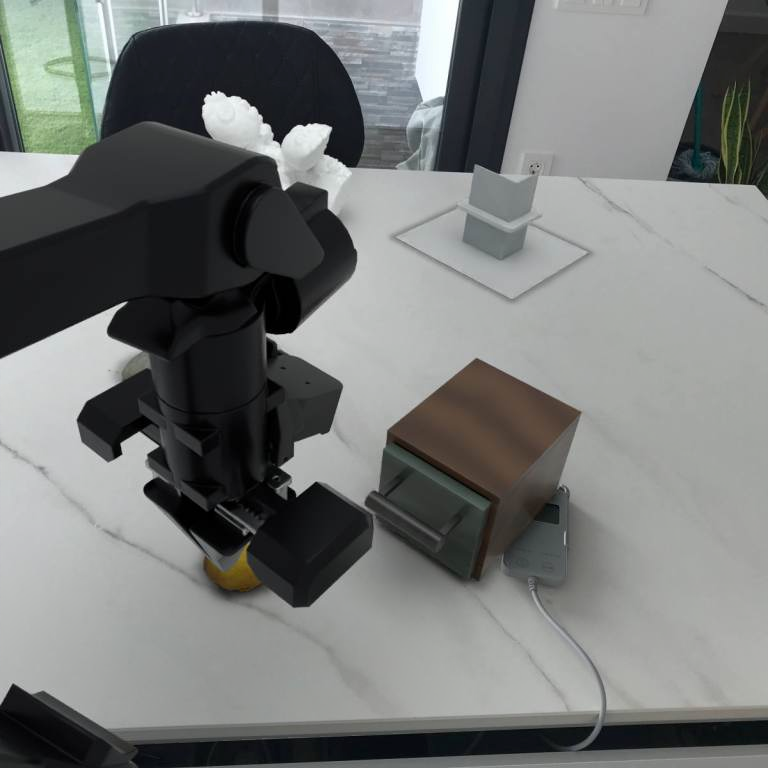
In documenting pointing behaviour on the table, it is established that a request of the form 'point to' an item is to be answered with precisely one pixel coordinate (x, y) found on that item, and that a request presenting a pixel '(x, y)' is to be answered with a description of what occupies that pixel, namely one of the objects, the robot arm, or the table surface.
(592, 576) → the table surface
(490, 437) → the cabinet
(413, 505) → the drawer
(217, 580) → the fruit
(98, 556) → the table surface
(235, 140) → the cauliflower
